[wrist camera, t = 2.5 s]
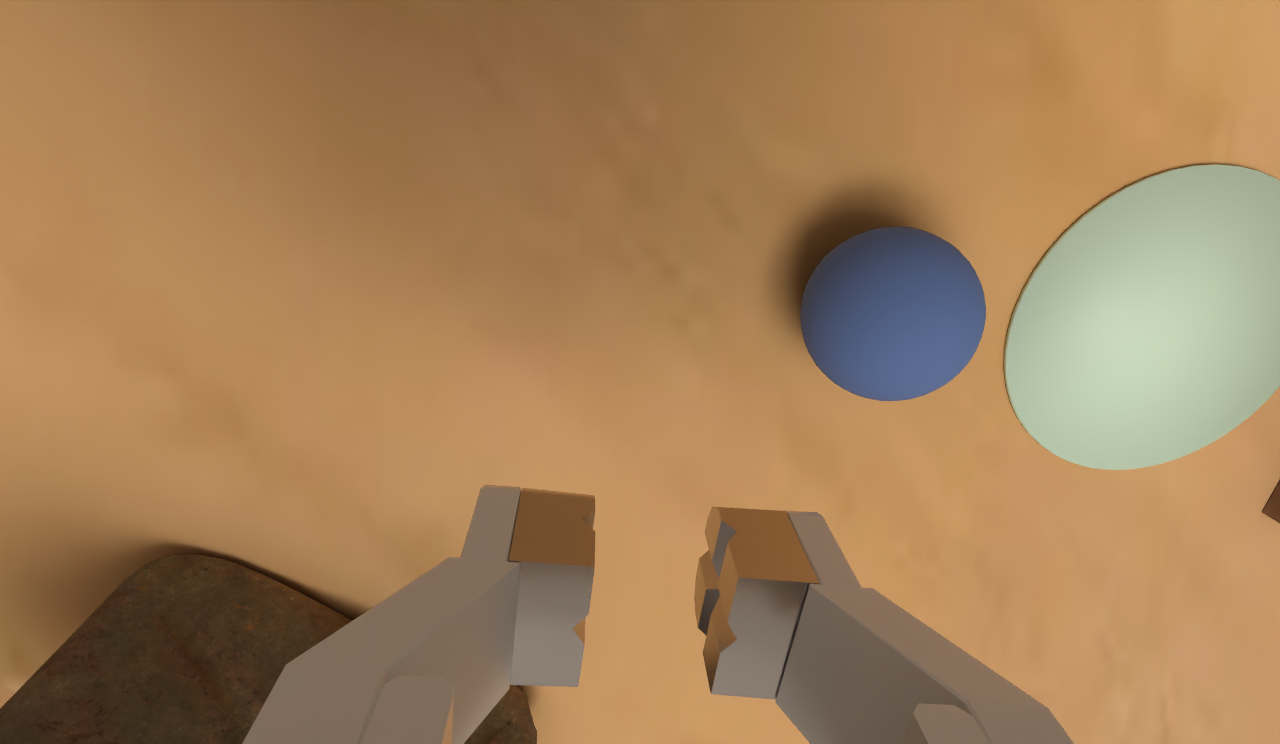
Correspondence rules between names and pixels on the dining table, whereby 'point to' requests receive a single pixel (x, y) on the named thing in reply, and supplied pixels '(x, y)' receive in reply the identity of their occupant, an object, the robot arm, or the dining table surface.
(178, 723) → the canister
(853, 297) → the ball
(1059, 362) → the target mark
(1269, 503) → the brown bar
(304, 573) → the dining table surface
